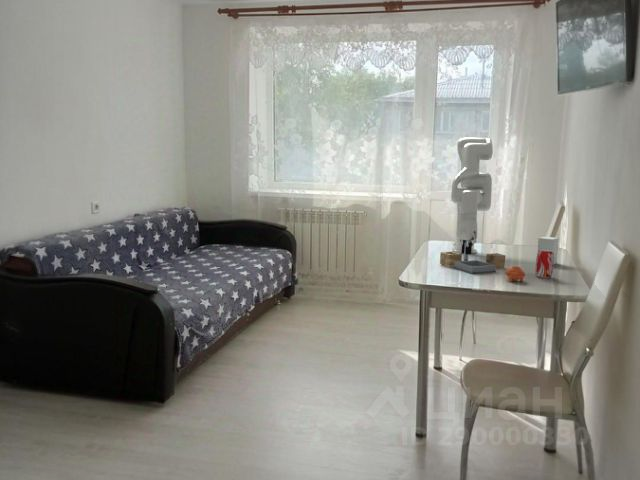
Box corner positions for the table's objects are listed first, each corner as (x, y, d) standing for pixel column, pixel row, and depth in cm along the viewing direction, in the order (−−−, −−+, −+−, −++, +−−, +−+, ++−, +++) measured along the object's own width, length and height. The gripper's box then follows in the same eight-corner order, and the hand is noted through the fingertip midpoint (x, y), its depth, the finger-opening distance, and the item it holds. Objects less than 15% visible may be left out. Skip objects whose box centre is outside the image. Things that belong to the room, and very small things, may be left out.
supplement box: (557, 263, 287) (559, 237, 285) (551, 265, 282) (553, 239, 280) (542, 261, 292) (544, 236, 290) (536, 263, 287) (538, 237, 285)
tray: (454, 268, 271) (454, 261, 270) (476, 266, 276) (477, 260, 275) (472, 273, 259) (472, 267, 258) (495, 271, 264) (496, 265, 264)
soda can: (544, 279, 252) (546, 251, 250) (531, 275, 258) (533, 248, 256) (555, 277, 255) (558, 250, 253) (542, 274, 261) (545, 247, 259)
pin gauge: (462, 261, 286) (463, 237, 284) (466, 261, 287) (467, 237, 285) (465, 262, 284) (466, 238, 282) (469, 262, 285) (470, 237, 283)
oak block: (439, 264, 279) (440, 252, 278) (451, 263, 282) (452, 251, 281) (448, 267, 272) (449, 254, 271) (461, 266, 275) (461, 253, 274)
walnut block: (485, 266, 277) (486, 253, 276) (495, 265, 279) (496, 253, 278) (494, 268, 271) (495, 256, 271) (504, 268, 274) (505, 255, 273)
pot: (500, 278, 251) (504, 262, 250) (517, 282, 251) (521, 267, 251) (507, 281, 243) (512, 266, 242) (525, 286, 244) (530, 270, 243)
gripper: (451, 214, 288) (449, 251, 290) (473, 218, 273) (470, 257, 276) (464, 214, 291) (462, 250, 294) (485, 217, 276) (483, 256, 279)
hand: (466, 253), depth 285 cm, fingers closed on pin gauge, 2 cm apart
